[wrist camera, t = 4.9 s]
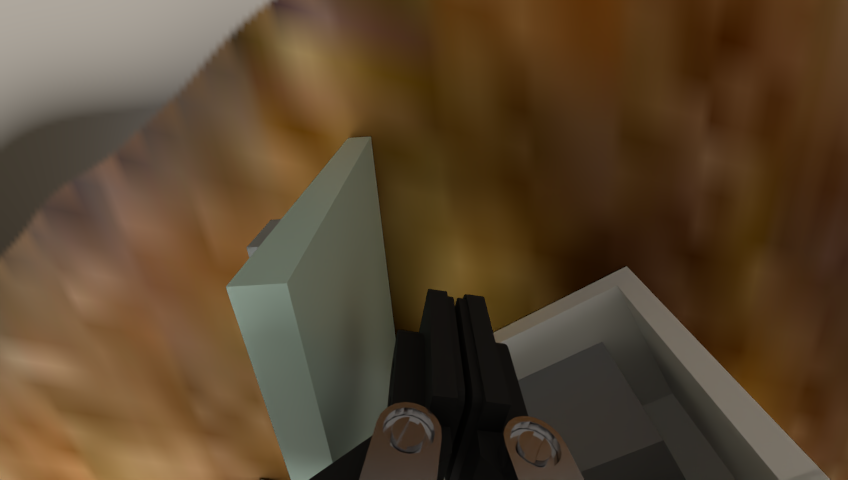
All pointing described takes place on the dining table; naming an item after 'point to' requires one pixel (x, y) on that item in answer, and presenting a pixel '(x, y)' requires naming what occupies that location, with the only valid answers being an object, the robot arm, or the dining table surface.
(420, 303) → the dining table surface
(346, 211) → the door
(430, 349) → the robot arm
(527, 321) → the housing
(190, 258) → the dining table surface
